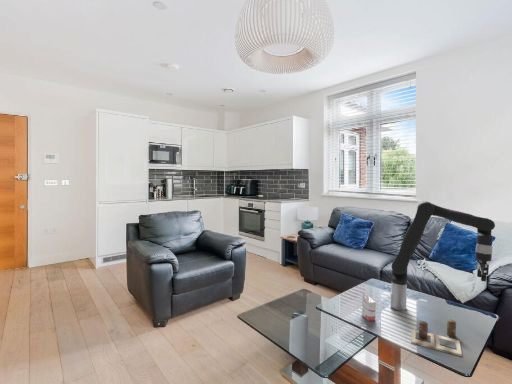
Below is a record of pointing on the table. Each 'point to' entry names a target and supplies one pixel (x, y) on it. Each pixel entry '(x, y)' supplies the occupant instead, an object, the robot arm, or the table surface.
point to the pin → (423, 329)
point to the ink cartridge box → (368, 308)
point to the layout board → (437, 342)
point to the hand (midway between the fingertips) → (481, 279)
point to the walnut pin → (451, 328)
